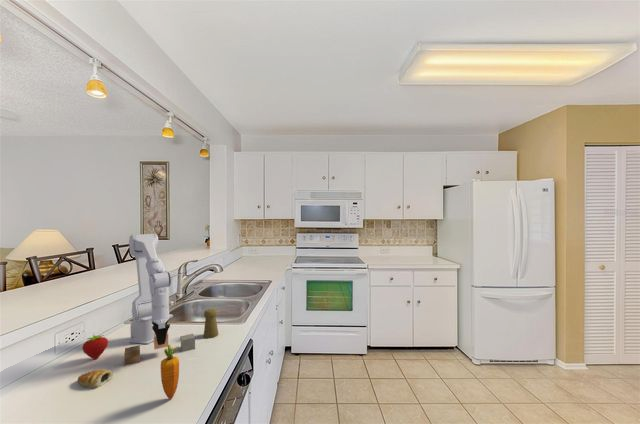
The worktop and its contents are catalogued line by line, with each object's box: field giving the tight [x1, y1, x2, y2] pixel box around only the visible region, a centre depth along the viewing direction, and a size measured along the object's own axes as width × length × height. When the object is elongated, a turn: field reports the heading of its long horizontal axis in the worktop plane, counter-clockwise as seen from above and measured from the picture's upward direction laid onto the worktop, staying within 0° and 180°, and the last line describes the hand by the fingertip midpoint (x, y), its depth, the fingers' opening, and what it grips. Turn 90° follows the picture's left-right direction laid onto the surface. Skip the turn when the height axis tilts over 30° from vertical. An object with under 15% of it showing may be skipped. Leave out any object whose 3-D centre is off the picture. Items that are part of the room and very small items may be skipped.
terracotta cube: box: [153, 330, 169, 350], centre depth 110 cm, size 4×4×4 cm
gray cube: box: [180, 333, 196, 353], centre depth 114 cm, size 4×4×4 cm
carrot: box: [160, 344, 180, 400], centre depth 83 cm, size 5×5×15 cm
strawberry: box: [82, 333, 109, 360], centre depth 107 cm, size 6×8×10 cm
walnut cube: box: [124, 344, 141, 367], centre depth 105 cm, size 4×4×4 cm
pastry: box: [77, 368, 114, 389], centre depth 93 cm, size 9×7×4 cm
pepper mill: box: [203, 308, 219, 339], centre depth 126 cm, size 6×6×11 cm
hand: (161, 341), depth 110 cm, fingers closed on terracotta cube, 4 cm apart
